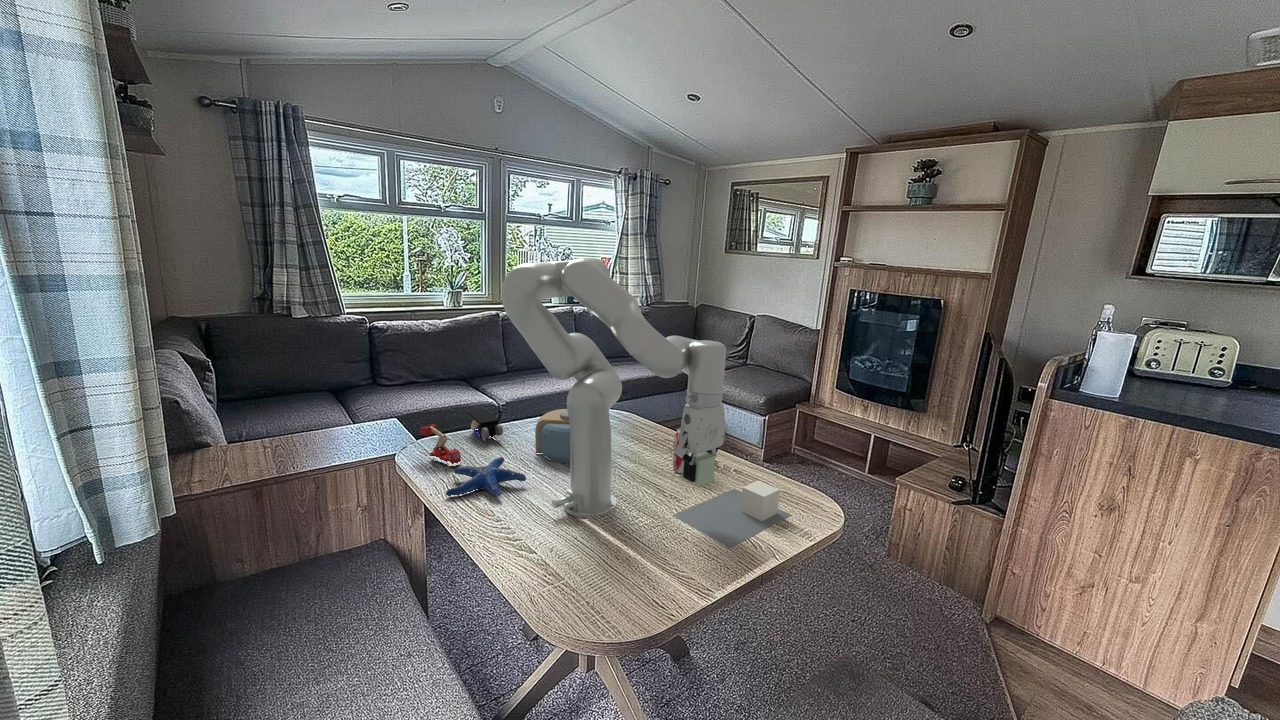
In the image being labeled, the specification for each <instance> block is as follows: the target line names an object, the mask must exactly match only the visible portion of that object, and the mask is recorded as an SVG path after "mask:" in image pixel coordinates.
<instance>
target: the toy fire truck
mask: <svg viewBox="0 0 1280 720" xmlns="http://www.w3.org/2000/svg"><path fill="white" fill-rule="evenodd" d="M419 430H420V434H421V435H424V436H431V435H433V434H435V435H436V436H438V440H437V442H436V445H435V447H433V449H432V450H433V451H431V452H429V457H430V456H436V457H439V458H440V459H441V460H444V461H446V462H447V461H450V462H451V463H452V464H454V463H458V462H460V461H461V462H462V456H461V452H460V451H459V449H456V448H453V449H449V448H448V447H447V446H446V445H445V444H446V443H447V441H448V439H449V438H448V436H447V434H446V433H442V432H441V431H440V430H438V429H437V425H436V424H429V425H425V426H422V427H420V429H419Z"/></svg>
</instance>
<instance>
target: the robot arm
mask: <svg viewBox="0 0 1280 720" xmlns="http://www.w3.org/2000/svg"><path fill="white" fill-rule="evenodd" d="M501 286H502V287H501V302H502V307H503V310H504V313H505V314H506V316H507V317H508V319H509V320H510V321H511V323H512V324H513V325H514V327H515V328H516V329H517V331H518V332H519V333H520V335H521V336H522V337H523V338H524V339H525V341H526V342H527V344H528V346H529V347H530V348H531V349H532V351H533V353H534V354H535V355H536V357H537V358H538V359H539V361H540V362H541V363H542V365H543V366H544V368H545V369H546V370H547V372H548V373H549V374H550V375H551V377H554V379H557V380H560V381H562V380H563V381H564V380H568V379H572V378H573V377H574V379H576V382H575V383H574V384H573V385H572V386H571V388H570V389H569V390H568V394H567V398H566V409H567V410H568V416H569V424H570V465H569V466H570V468H569V469H570V471H569V472H570V475H569V476H570V477H569V479H570V484H569V485H570V487H569V488H568V489H566V494H564V495H563V497H558V498H555V499H553V500H552V501H551V504H552V507H553V508H554V509H557V508H560V507H562V508H563V509H564V511H566V512H567V513H568V514H569V515H571V516H574V517H575V518H576V517H577V518H580V519H581V518H582V519H587V517H586V516H599V515H604V514H607V513H609V512H611V511H613V510H614V509H615V508H616V507H617V505H618V500H617V498H616V497H615V495H614V494H613V493H612V492H611V491H612V490H611V489H612V426H611V425H612V424H611V419H610V409H611V408H612V407H613V406H614V405H615V404H617V402H618V401H619V399H620V397H621V396H622V392H623V384H622V380H621V379H620V377H619V374H618V373H617V372H616V370H615V369H614V368H613V366H612V364H611V363H610V361H608V359H607V358H606V356H605V355H604V354H603V353H602V351H601V350H600V348H599V347H598V346H597V345H596V343H595V342H594V341H593V340H592V339H591V338H590V337H588V336H587V335H585V334H583V333H579V332H572V333H569V332H567V331H566V329H565V328H564V327H563V326H562V325H561V323H560V321H559V320H558V318H557V317H556V316H555V315H554V314H553V313H552V312H551V311H550V310H549V309H548V308H547V307H546V306H545V305H544V304H543V302H542V300H547V299H548V300H549V299H551V298H552V299H553V298H566V297H573V298H574V300H576V301H577V302H578V303H580V304H581V305H582V306H583V307H585V309H587V310H588V311H589V312H591V314H593V315H594V316H595V317H597V318H598V319H599V320H600V321H601V322H602V323H604V324H605V325H606V326H607V327H608V328H609V329H610V330H611V332H612V333H613V335H614V337H615V338H616V339H617V340H618V341H619V343H620V344H621V346H622V347H623V348H624V349H625V350H626V352H628V354H630V355H631V356H632V357H633V358H634V359H635V360H636V361H638V363H640V364H641V365H642V366H643V367H644V368H646V370H649V372H651V373H652V374H654V375H656V376H657V377H660V378H663V379H670V378H673V377H676V376H678V375H679V374H681V373H682V371H683V370H685V369H686V370H688V377H687V390H686V397H685V398H684V400H685V402H686V404H684V408H683V413H682V418H681V423H680V428H681V429H680V443H679V444H678V446H677V448H676V450H675V453H676V454H677V455H678V456H680V458H681V459H682V461H683V462H684V469H683V477H684V478H685V479H687V480H689V481H691V482H695V476H696V465H695V464H694V463H695V460H696V456H697V454H699V453H703V452H708V453H711V454H713V455H715V456H716V457H717V452H718V451H719V450H720V448H721V446H723V444H724V441H725V433H726V432H725V429H726V427H725V425H726V418H725V416H726V415H725V408H724V407H725V406H724V403H723V402H722V401H723V391H724V380H725V379H724V378H725V368H726V359H727V357H726V356H727V348H726V346H725V344H723V343H722V342H719V341H715V340H711V339H710V340H709V339H708V340H707V339H704V340H703V339H702V340H697V339H693V338H688V337H684V336H681V335H670V336H667V337H665V336H663V334H662V333H660V332H659V331H658V330H657V329H656V328H654V326H652V325H651V323H650V322H648V320H647V319H646V318H645V317H644V315H643V314H642V313H643V312H641V309H640V305H639V302H638V301H637V299H636V298H635V296H633V294H631V293H630V292H629V291H628V290H626V289H625V288H624V287H623V286H621V285H620V284H619V283H618V282H616V280H614V279H613V278H612V277H611V272H610V270H609V268H608V266H607V265H606V263H604V262H603V261H601V260H600V259H598V258H595V257H587V258H586V257H584V258H583V257H580V258H575V259H573V260H563V261H562V260H561V261H559V260H558V261H543V262H541V261H539V262H527V263H522V264H521V263H520V264H518V265H516V266H515V267H513V268H512V269H510V271H509V272H508V273H507V274H506V276H505V278H504V279H503V282H502V285H501ZM689 452H691V453H692V454H691V458H690V456H689Z"/></svg>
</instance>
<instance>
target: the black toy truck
mask: <svg viewBox="0 0 1280 720" xmlns="http://www.w3.org/2000/svg"><path fill="white" fill-rule="evenodd" d="M467 414H468V415H469V416H470V417H471V418H472V419H473V420H472V421H471V423H470V428H471V430H472V431H473V430H474V431H473V432H474V435H476V436H478V437H479V438H480V439H482V440H483V439H486V440H489V439H488V438H489V436H491V437H493V436H494V437H495V436H497V437H498V436H503V433H504V429H503V426H502V424H500V420H499V419H498V418H497V417H496V416H495V415H494V414H492V412H490V411H489V410H487V409H486V408H485V409H477V410H469V411H467ZM475 429H478V430H475ZM477 432H478V433H477Z"/></svg>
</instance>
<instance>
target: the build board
mask: <svg viewBox="0 0 1280 720" xmlns="http://www.w3.org/2000/svg"><path fill="white" fill-rule="evenodd" d="M741 490H742V491H740V490H738V489H736V488H733V489H730V490H728V491H725V492H722V493H721V494H719V495H716V496H714V497H711V498H709V499H706V500H705V501H703V502H700V503H697V504H696V505H693V506H691V507H688V508H687V509H684V510H681V511H679V512H676V513H674V514H672V517H674V518H676V519H678V520H680V521H681V522H683V523H685V524H687V525H688V526H690V527H692V528H693V529H696V530H697V531H699V532H701V533H702V534H704V535H706V536H707V537H709V538H712V539H713V540H715V541H716V542H718V543H720V544H721V545H724V546H725V547H727V548H729V549H731V548H733V547H736V546H738V545H739V544H741V543H742V542H745V541H747V540H749V539H750V538H752V537H755V536H756V535H758V534H759V533H761V532H763V531H765V530H768V529H769V528H771V527H772V526H774V525H777V524H779V523H780V522H782V521H783V520H784V521H785V520H786V519H788V518H790V517H792V514H791V513H789V512H787V511H784V510H782V509H780V508H779V504H780V503H779V501H780V493H781V492H780V491H781V489H779V488H777V487H775V486H772V485H770V484H769V483H766V482H763V481H761V480H755V481H754V482H751V483H749V484H746V485H744V486H742V489H741Z"/></svg>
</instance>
